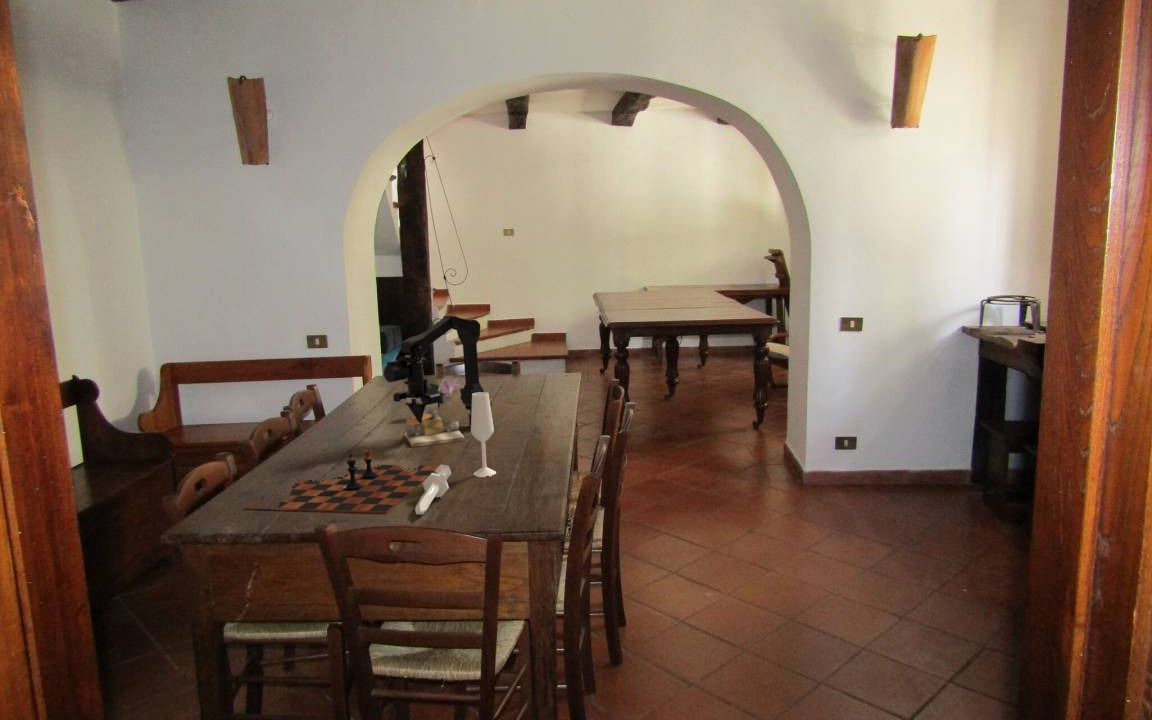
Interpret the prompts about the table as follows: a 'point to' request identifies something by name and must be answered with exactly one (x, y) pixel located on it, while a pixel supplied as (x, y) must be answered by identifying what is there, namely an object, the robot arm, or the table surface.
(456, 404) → the table surface
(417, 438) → the valve plank
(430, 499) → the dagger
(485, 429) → the champagne flute
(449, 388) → the lily
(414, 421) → the valve lever
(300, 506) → the chessboard
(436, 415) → the pneumatic valve
